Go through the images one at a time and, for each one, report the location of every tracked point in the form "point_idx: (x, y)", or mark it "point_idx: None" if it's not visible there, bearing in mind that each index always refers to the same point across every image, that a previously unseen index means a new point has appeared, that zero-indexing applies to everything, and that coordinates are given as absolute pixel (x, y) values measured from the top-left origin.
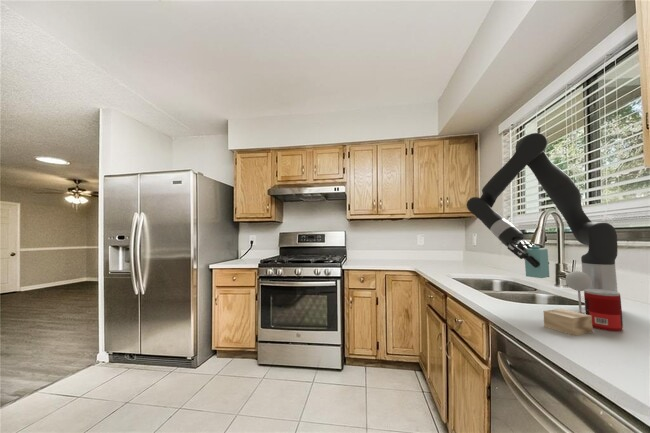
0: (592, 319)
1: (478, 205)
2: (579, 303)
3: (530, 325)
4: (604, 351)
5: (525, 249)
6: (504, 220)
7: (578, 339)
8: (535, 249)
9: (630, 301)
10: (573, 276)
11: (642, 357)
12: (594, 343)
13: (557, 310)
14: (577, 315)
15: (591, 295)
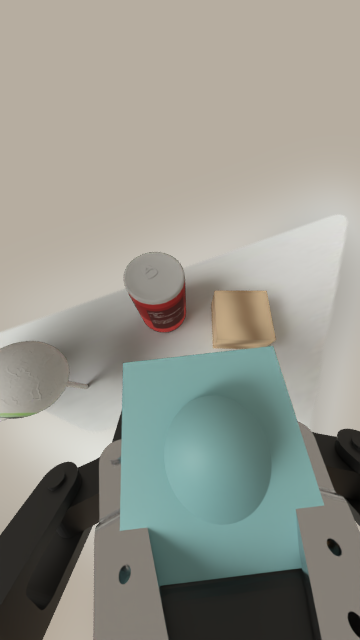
0: (185, 310)
1: None
2: (76, 384)
3: (285, 362)
4: (275, 263)
5: (348, 509)
6: None
7: None
8: (283, 385)
9: None
10: (43, 371)
11: (251, 245)
12: (260, 279)
13: (240, 332)
14: (238, 298)
15: (184, 283)
